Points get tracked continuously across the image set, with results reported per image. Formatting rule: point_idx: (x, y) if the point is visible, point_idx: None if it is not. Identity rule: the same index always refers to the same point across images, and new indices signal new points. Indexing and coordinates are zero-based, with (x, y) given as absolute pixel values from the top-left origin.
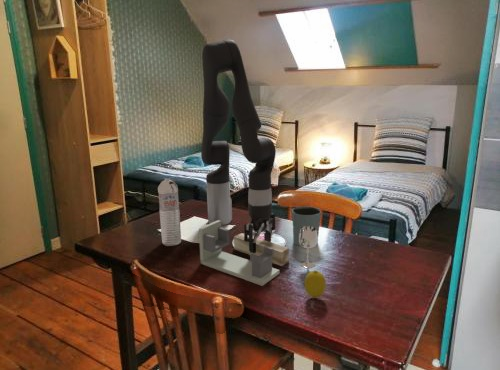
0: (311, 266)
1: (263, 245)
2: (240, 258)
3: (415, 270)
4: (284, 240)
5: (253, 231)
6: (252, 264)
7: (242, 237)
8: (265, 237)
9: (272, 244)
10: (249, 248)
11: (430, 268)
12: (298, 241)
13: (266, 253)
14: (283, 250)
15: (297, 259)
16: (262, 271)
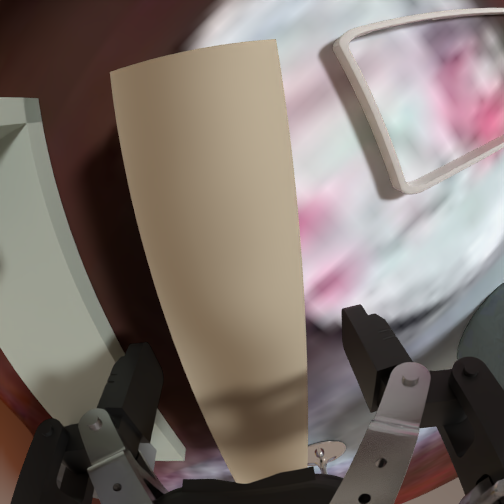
0: (312, 465)
1: (220, 425)
2: (73, 304)
3: (411, 493)
4: (494, 247)
5: (475, 13)
6: None
7: (176, 167)
8: (360, 351)
9: (284, 439)
10: (110, 377)
11: (427, 490)
12: (472, 356)
13: None
14: None
15: (337, 423)
16: None
